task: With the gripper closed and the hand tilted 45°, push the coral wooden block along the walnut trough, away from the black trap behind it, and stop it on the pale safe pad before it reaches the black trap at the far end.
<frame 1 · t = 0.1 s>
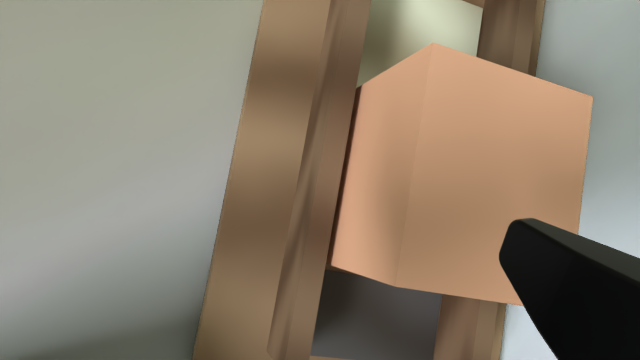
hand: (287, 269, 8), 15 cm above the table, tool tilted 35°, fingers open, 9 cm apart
slider block: (438, 187, 20), point 5 cm above the table, slide at 0.0 cm
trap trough: (392, 125, 25), on the table
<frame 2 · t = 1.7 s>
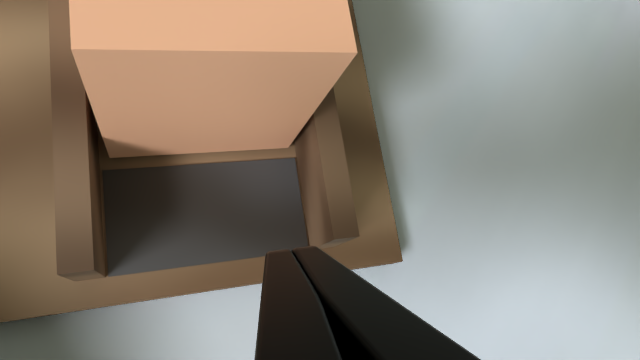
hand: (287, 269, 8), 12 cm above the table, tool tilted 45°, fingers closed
slider block: (201, 5, 16), point 5 cm above the table, slide at 0.0 cm
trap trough: (185, 5, 22), on the table
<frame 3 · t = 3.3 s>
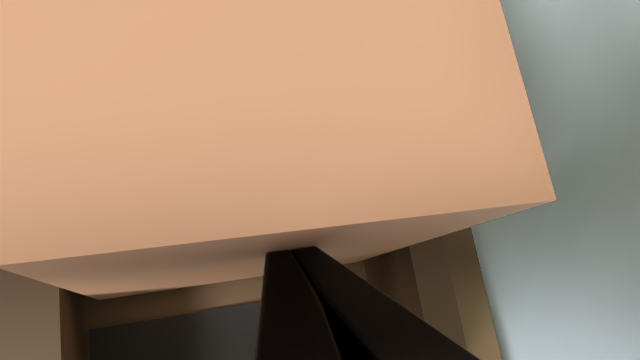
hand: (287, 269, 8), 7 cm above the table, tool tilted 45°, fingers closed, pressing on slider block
slider block: (242, 79, 10), point 5 cm above the table, slide at 0.3 cm, touching gripper
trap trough: (207, 62, 16), on the table
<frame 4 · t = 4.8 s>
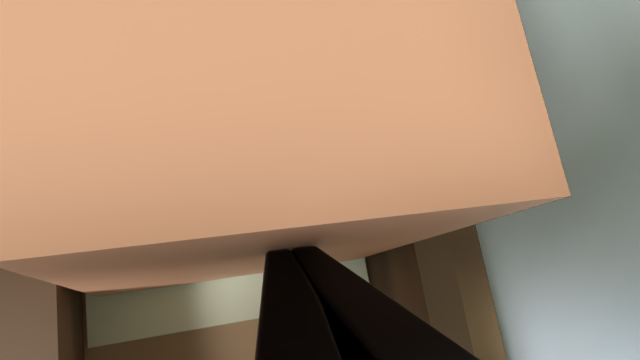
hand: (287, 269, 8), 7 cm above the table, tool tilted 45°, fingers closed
slider block: (244, 71, 10), point 5 cm above the table, slide at 6.3 cm
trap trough: (228, 235, 14), on the table
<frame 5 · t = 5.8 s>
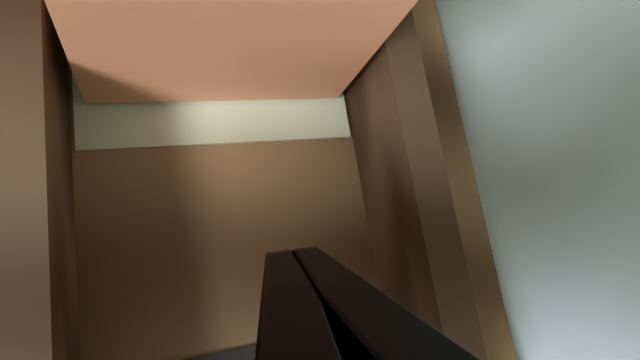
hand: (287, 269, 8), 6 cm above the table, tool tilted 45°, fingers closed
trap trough: (212, 77, 15), on the table
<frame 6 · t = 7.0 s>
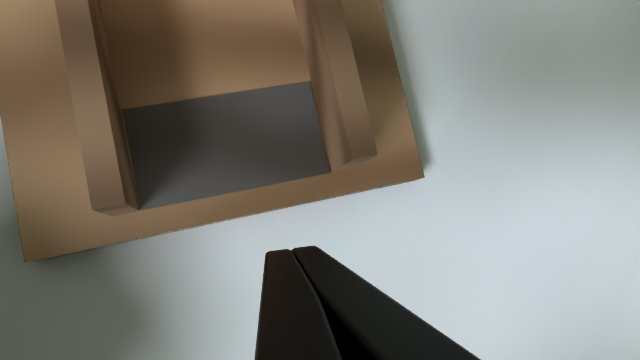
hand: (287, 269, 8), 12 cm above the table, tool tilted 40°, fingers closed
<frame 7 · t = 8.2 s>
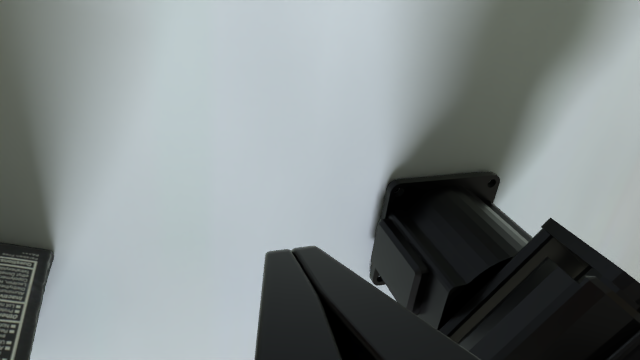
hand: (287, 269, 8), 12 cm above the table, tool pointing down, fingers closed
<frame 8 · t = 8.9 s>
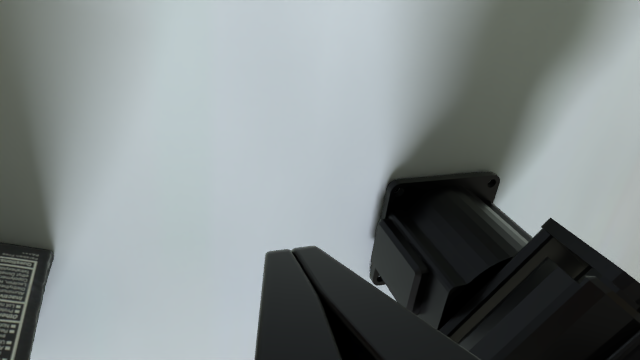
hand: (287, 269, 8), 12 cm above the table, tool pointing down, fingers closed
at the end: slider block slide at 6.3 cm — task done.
